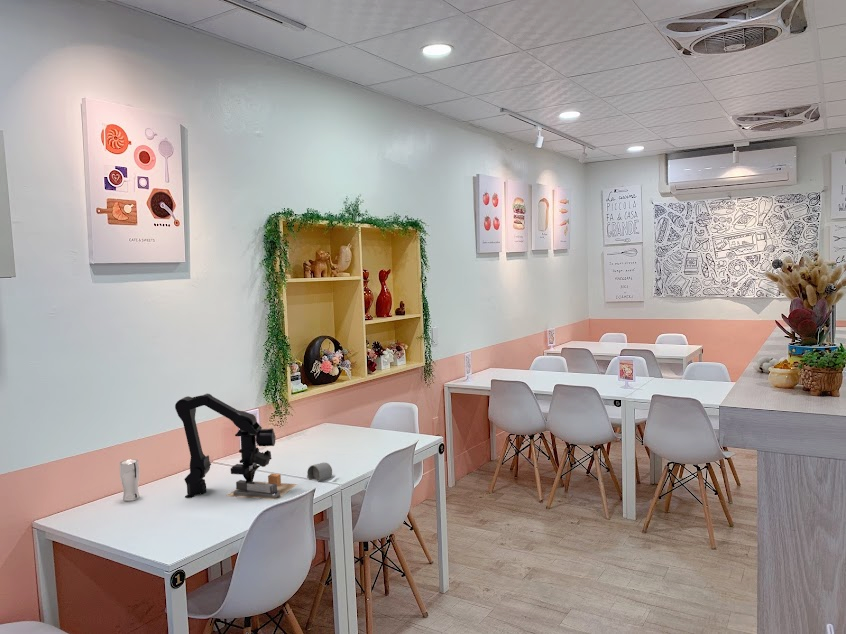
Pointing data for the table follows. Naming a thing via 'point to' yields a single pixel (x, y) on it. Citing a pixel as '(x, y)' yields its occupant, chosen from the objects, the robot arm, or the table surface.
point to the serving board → (281, 488)
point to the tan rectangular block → (274, 479)
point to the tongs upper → (254, 486)
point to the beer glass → (130, 479)
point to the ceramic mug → (319, 471)
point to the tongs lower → (258, 493)
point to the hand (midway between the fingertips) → (250, 484)
